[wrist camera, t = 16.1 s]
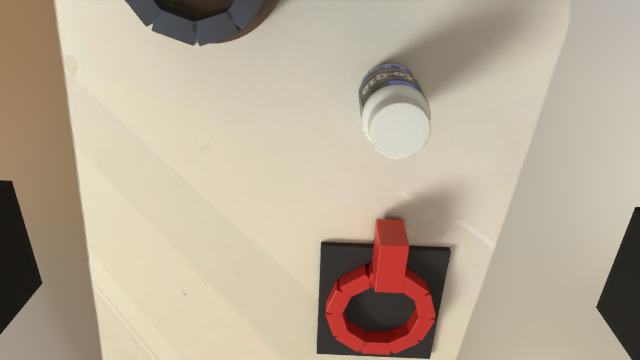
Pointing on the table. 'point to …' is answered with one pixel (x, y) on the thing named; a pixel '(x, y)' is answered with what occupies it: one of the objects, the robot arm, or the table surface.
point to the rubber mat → (378, 296)
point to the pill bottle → (394, 111)
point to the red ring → (384, 277)
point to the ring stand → (202, 18)
